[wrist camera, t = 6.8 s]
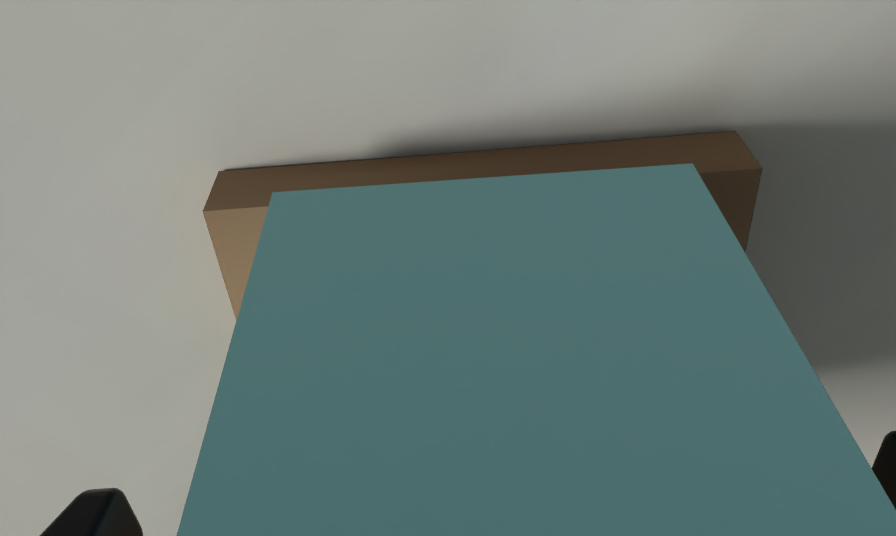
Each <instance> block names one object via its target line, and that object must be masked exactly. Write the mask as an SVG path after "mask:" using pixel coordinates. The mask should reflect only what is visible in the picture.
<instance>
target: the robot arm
mask: <svg viewBox="0 0 896 536" xmlns="http://www.w3.org/2000/svg"><path fill="white" fill-rule="evenodd" d="M872 470H873V472H874V474H875V475H876V477H877V479H878V481H879V482H880V484H881V486H882V487H883V489H884V491H885V493H886V494H887V496H888V498H889V499H890V501H891V503H892V504H893V506H894V508H895V510H896V431H891V432H890V433H888V434H887V435H886V436H885V438H884V440H883V442H882V444H881V447H880V449H879V452H878V454H877V457H876V459H875V461H874V464H873V466H872ZM40 536H143V533H142V529H141V526H140V524H139V522H138V520H137V518H136V516H135V514H134V512H133V510H132V508H131V506H130V504H129V502H128V501H127V499H126V497H125V495H124V493H123V492H122V491H121V490H119V489H117V488H105V489H92V490H87V491H84V492H82V493H81V494H80V495H78V496H77V497H76V498H75V499H74V500H73V501H72V502H71V503H70V504H69V505H68V506H67V507H66V509H65V510H64V511H63V512H62V513H61V514H60V515H59V516H58V517H57V518H56V519H55V520H54V521H53V522H52V523H51V524H50V525H49V526H48V527H47V529H46V530H45V531H44V532H43V533H42V534H41V535H40Z"/></svg>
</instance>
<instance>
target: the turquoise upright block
mask: <svg viewBox="0 0 896 536" xmlns="http://www.w3.org/2000/svg"><path fill="white" fill-rule="evenodd" d="M177 536H896V510H895V508H894V506H893V504H892V503H891V501H890V499H889V498H888V496H887V494H886V493H885V491H884V489H883V487H882V486H881V484H880V482H879V481H878V479H877V477H876V475H875V474H874V472H873V470H872V469H871V467H870V465H869V464H868V462H867V460H866V458H865V457H864V455H863V453H862V452H861V450H860V448H859V446H858V445H857V443H856V441H855V440H854V438H853V436H852V434H851V433H850V431H849V429H848V428H847V426H846V424H845V423H844V421H843V419H842V417H841V416H840V414H839V412H838V411H837V409H836V407H835V405H834V404H833V402H832V400H831V399H830V397H829V395H828V394H827V392H826V390H825V388H824V387H823V385H822V383H821V382H820V380H819V378H818V376H817V375H816V373H815V371H814V370H813V368H812V366H811V365H810V363H809V361H808V359H807V358H806V356H805V354H804V353H803V351H802V349H801V347H800V346H799V344H798V342H797V341H796V339H795V337H794V336H793V334H792V332H791V330H790V329H789V327H788V325H787V324H786V322H785V320H784V318H783V317H782V315H781V313H780V312H779V310H778V308H777V307H776V305H775V303H774V301H773V300H772V298H771V296H770V295H769V293H768V291H767V289H766V288H765V286H764V284H763V283H762V281H761V279H760V278H759V276H758V274H757V272H756V271H755V269H754V267H753V266H752V264H751V262H750V260H749V259H748V257H747V255H746V254H745V252H744V250H743V249H742V247H741V245H740V243H739V242H738V240H737V238H736V237H735V235H734V233H733V231H732V230H731V228H730V226H729V225H728V223H727V221H726V219H725V218H724V216H723V214H722V213H721V211H720V209H719V208H718V206H717V204H716V202H715V201H714V199H713V197H712V196H711V194H710V192H709V190H708V189H707V187H706V185H705V184H704V182H703V180H702V179H701V177H700V175H699V173H698V172H697V170H696V168H695V167H694V165H693V163H691V164H676V165H662V166H647V167H633V168H618V169H604V170H589V171H575V172H560V173H546V174H531V175H517V176H502V177H488V178H473V179H459V180H444V181H430V182H415V183H400V184H386V185H371V186H357V187H342V188H328V189H313V190H299V191H284V192H272V196H271V199H270V203H269V207H268V210H267V214H266V217H265V221H264V224H263V228H262V232H261V235H260V239H259V242H258V246H257V250H256V253H255V257H254V260H253V264H252V267H251V271H250V275H249V278H248V282H247V285H246V289H245V293H244V296H243V300H242V303H241V307H240V310H239V314H238V318H237V321H236V325H235V328H234V332H233V336H232V339H231V343H230V346H229V350H228V353H227V357H226V361H225V364H224V368H223V371H222V375H221V378H220V382H219V386H218V389H217V393H216V396H215V400H214V404H213V407H212V411H211V414H210V418H209V421H208V425H207V429H206V432H205V436H204V439H203V443H202V447H201V450H200V454H199V457H198V461H197V464H196V468H195V472H194V475H193V479H192V482H191V486H190V490H189V493H188V497H187V500H186V504H185V507H184V511H183V515H182V518H181V522H180V525H179V529H178V532H177Z"/></svg>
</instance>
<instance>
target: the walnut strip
mask: <svg viewBox="0 0 896 536" xmlns="http://www.w3.org/2000/svg"><path fill="white" fill-rule="evenodd" d="M691 163H693V165H694V167H695V168H696V170H697V172H698V173H699V175H700V177H701V179H702V180H703V182H704V184H705V185H706V187H707V189H708V190H709V192H710V194H711V196H712V197H713V199H714V201H715V202H716V204H717V206H718V208H719V209H720V211H721V213H722V214H723V216H724V218H725V219H726V221H727V223H728V225H729V226H730V228H731V230H732V231H733V233H734V235H735V237H736V238H737V240H738V242H739V243H740V245H741V247H742V249H743V250H744V252H745V250H746V245H747V240H748V235H749V230H750V225H751V221H752V216H753V211H754V206H755V201H756V196H757V191H758V186H759V181H760V176H761V171H762V167H761V166H760V165H759V163H758V162H757V160H756V159H755V158H754V156H753V155H752V154H751V152H750V151H749V149H748V148H747V147H746V145H745V144H744V143H743V141H742V140H741V138H740V137H739V136H738V134H737V133H736V131H732V132H719V133H706V134H693V135H680V136H668V137H655V138H642V139H629V140H616V141H603V142H591V143H578V144H565V145H552V146H539V147H526V148H514V149H501V150H488V151H475V152H462V153H449V154H436V155H424V156H411V157H398V158H385V159H372V160H359V161H347V162H334V163H321V164H308V165H295V166H282V167H270V168H257V169H244V170H231V171H219V172H218V175H217V177H216V180H215V182H214V185H213V187H212V190H211V192H210V195H209V197H208V200H207V202H206V205H205V207H204V210H203V214H204V217H205V220H206V223H207V227H208V230H209V233H210V236H211V240H212V243H213V246H214V249H215V253H216V256H217V259H218V262H219V266H220V269H221V272H222V275H223V279H224V282H225V285H226V288H227V292H228V295H229V298H230V301H231V305H232V308H233V311H234V314H235V317H236V321H237V318H238V314H239V310H240V307H241V303H242V300H243V296H244V293H245V289H246V285H247V282H248V278H249V275H250V271H251V267H252V264H253V260H254V257H255V253H256V250H257V246H258V242H259V239H260V235H261V232H262V228H263V224H264V221H265V217H266V214H267V210H268V207H269V203H270V199H271V196H272V192H284V191H299V190H313V189H328V188H342V187H357V186H371V185H386V184H400V183H415V182H430V181H444V180H459V179H473V178H488V177H502V176H517V175H531V174H546V173H560V172H575V171H589V170H604V169H618V168H633V167H647V166H662V165H676V164H691Z"/></svg>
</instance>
